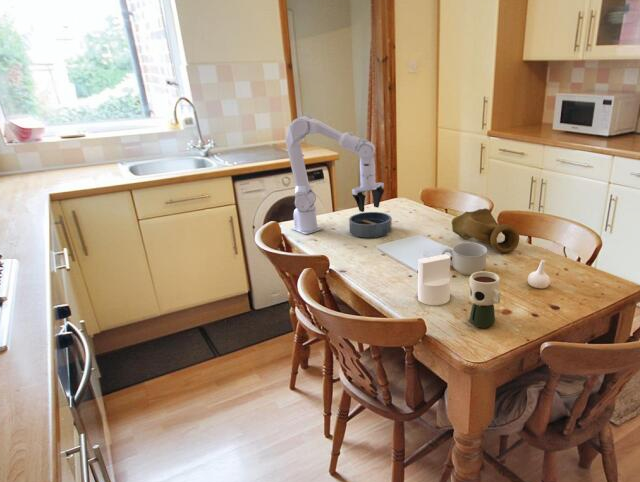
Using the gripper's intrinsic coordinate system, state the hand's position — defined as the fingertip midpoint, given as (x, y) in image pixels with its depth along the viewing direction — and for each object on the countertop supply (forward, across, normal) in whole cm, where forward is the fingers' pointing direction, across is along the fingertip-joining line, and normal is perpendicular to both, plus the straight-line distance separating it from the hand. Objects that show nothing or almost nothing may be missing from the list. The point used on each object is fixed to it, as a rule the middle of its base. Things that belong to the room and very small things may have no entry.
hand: (369, 209), depth 181 cm
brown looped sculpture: (+9, +19, -41) cm, 46 cm away
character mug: (+9, -27, -74) cm, 79 cm away
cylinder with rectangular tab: (+9, -25, -56) cm, 62 cm away
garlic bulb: (+9, +2, -73) cm, 73 cm away
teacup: (+9, -5, -51) cm, 52 cm away
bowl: (+9, 0, -1) cm, 9 cm away
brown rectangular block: (+8, 0, -1) cm, 8 cm away
